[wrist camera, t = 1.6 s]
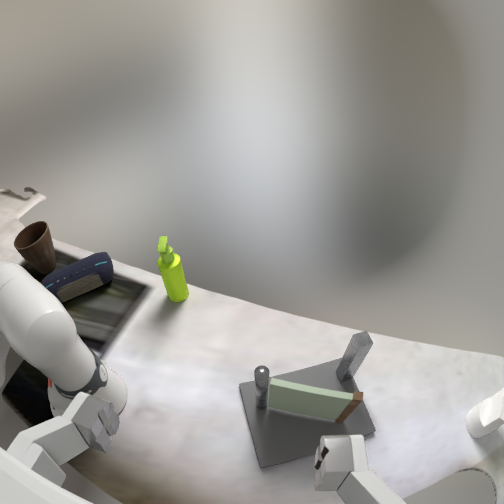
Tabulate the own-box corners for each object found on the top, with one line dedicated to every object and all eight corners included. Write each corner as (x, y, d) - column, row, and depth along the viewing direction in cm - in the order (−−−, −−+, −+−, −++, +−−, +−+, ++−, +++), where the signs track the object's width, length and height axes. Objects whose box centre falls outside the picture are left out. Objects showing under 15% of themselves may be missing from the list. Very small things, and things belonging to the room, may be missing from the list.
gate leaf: (267, 408, 56) (269, 383, 46) (269, 402, 57) (272, 375, 47) (341, 423, 52) (362, 400, 42) (343, 416, 53) (363, 392, 43)
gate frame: (260, 468, 47) (261, 456, 35) (239, 385, 62) (233, 346, 49) (373, 432, 51) (409, 404, 39) (342, 359, 65) (363, 315, 53)
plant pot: (67, 270, 90) (49, 234, 79) (34, 288, 83) (14, 254, 72) (61, 249, 99) (45, 216, 88) (31, 265, 92) (13, 233, 81)
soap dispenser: (167, 305, 79) (148, 251, 66) (169, 287, 84) (153, 233, 71) (188, 304, 79) (173, 249, 66) (189, 285, 84) (175, 230, 71)
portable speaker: (53, 314, 75) (38, 292, 69) (51, 293, 82) (38, 271, 75) (120, 284, 85) (110, 261, 78) (114, 265, 91) (104, 242, 85)
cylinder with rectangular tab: (485, 442, 41) (515, 425, 33) (461, 432, 46) (490, 414, 38) (493, 412, 47) (521, 392, 39) (471, 401, 51) (497, 380, 43)
